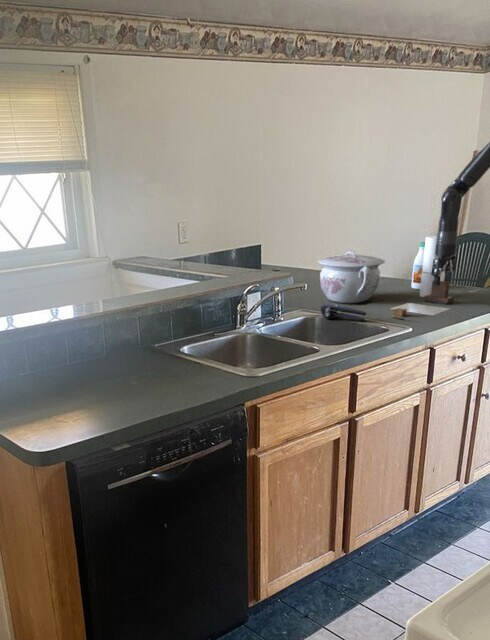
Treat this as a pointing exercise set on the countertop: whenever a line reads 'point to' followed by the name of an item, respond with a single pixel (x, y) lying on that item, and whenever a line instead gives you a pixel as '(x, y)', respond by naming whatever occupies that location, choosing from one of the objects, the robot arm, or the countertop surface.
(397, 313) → the cork block
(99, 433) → the countertop surface
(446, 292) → the brown branching block
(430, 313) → the tile
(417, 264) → the milk bottle
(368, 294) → the chamber pot
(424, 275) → the cylindrical container
